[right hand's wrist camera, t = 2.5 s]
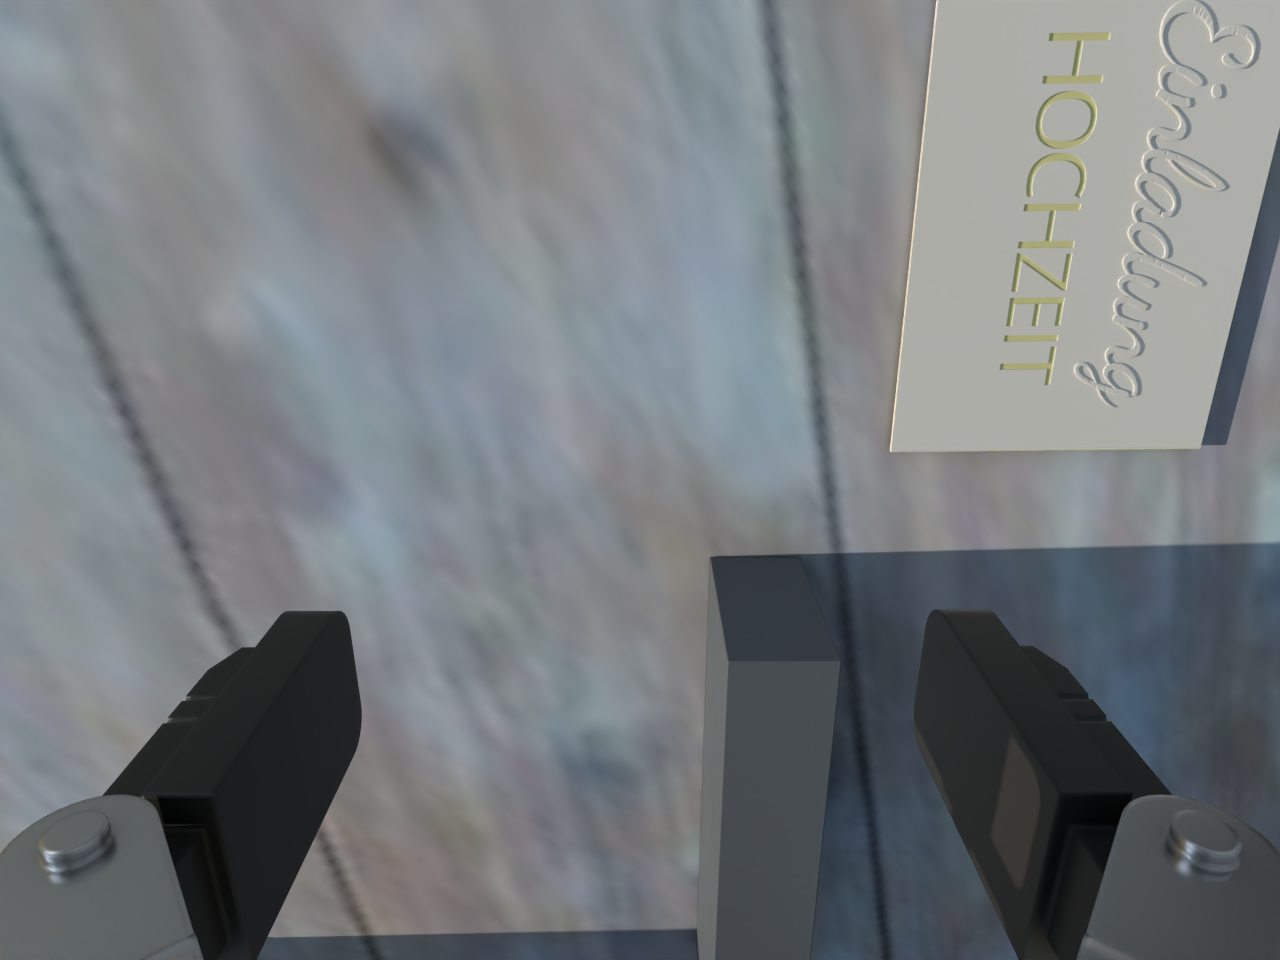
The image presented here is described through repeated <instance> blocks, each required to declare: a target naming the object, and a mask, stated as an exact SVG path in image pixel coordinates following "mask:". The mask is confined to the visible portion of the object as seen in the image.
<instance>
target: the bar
mask: <svg viewBox="0 0 1280 960" xmlns="http://www.w3.org/2000/svg"><path fill="white" fill-rule="evenodd" d="M840 669H841V660H840V657H839V655H838V652H837V650H836V647H835V645H834V642H833V640H832V637H831V635H830V632H829V630H828V627H827V625H826V622H825V619H824V617H823V614H822V612H821V609H820V607H819V604H818V602H817V599H816V597H815V594H814V592H813V589H812V587H811V584H810V581H809V579H808V576H807V574H806V571H805V569H804V566H803V564H802V561H801V559H800V557H710V564H709V593H708V623H707V652H706V682H705V711H704V740H703V770H702V799H701V828H700V858H699V887H698V916H697V960H810V958H811V949H812V939H813V929H814V920H815V910H816V900H817V891H818V881H819V871H820V862H821V852H822V842H823V833H824V823H825V813H826V804H827V794H828V784H829V775H830V765H831V755H832V746H833V736H834V727H835V717H836V707H837V698H838V688H839V678H840Z"/></svg>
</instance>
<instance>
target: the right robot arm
mask: <svg viewBox="0 0 1280 960" xmlns="http://www.w3.org/2000/svg"><path fill="white" fill-rule="evenodd" d="M361 721H362V711H361V701H360V694H359V687H358V680H357V674H356V667H355V660H354V653H353V646H352V639H351V633H350V627H349V622H348V619H347V617H346V615H345V614H344V613H343V612H342V611H286V612H284V613H282V614H281V615H280V616H279V618H278V619H277V620H276V621H275V623H274V624H273V625H272V627H271V628H270V629H269V630H268V632H267V633H266V634H265V636H264V637H263V638H262V639H261V641H260V642H259V643H258V645H257V646H256V647H242V648H241V649H239V650H238V651H236V652H235V653H233V654H232V655H230V656H229V657H227V658H226V659H224V660H223V661H221V662H219V663H218V664H216V665H215V666H213V667H212V668H210V669H209V670H208V671H207V672H206V673H205V674H204V675H203V677H202V678H201V679H200V680H199V681H198V683H197V684H196V685H195V686H194V687H193V689H192V690H191V691H190V692H189V693H188V694H187V696H186V701H182V702H181V703H180V704H179V705H178V706H177V708H176V709H175V710H174V711H173V712H172V714H171V715H170V716H169V717H168V722H167V723H163V724H162V725H161V727H160V728H159V729H158V730H157V731H156V733H155V734H154V735H153V736H152V737H151V739H150V740H149V741H148V742H147V743H146V744H145V746H144V747H143V748H142V749H141V750H140V752H139V753H138V754H137V755H136V756H135V758H134V759H133V760H132V761H131V762H130V764H129V765H128V766H127V767H126V768H125V769H124V771H123V772H122V773H121V774H120V775H119V777H118V778H117V779H116V780H115V781H114V783H113V784H112V785H111V786H110V787H109V789H108V790H107V791H106V792H105V793H104V794H103V796H100V797H95V798H91V799H86V800H83V801H80V802H77V803H74V804H71V805H69V806H66V807H64V808H61V809H59V810H57V811H55V812H53V813H51V814H49V815H47V816H45V817H43V818H42V819H40V820H38V821H37V822H35V823H34V824H32V825H31V826H29V827H28V828H27V829H25V830H24V831H23V832H21V833H20V834H19V835H18V836H17V837H15V838H14V839H13V840H12V841H11V842H10V843H9V844H8V845H7V846H6V848H5V849H4V850H3V851H2V852H1V854H0V960H257V957H258V955H259V953H260V951H261V949H262V947H263V945H264V943H265V941H266V939H267V937H268V934H269V932H270V930H271V928H272V926H273V924H274V922H275V920H276V918H277V916H278V913H279V911H280V909H281V907H282V905H283V903H284V901H285V899H286V897H287V895H288V893H289V890H290V888H291V886H292V884H293V882H294V880H295V878H296V876H297V874H298V872H299V869H300V867H301V865H302V863H303V861H304V859H305V857H306V855H307V853H308V851H309V848H310V846H311V844H312V842H313V840H314V838H315V836H316V834H317V832H318V830H319V828H320V825H321V823H322V821H323V819H324V817H325V815H326V813H327V811H328V809H329V807H330V804H331V802H332V800H333V798H334V796H335V794H336V792H337V790H338V788H339V786H340V784H341V781H342V779H343V777H344V775H345V773H346V771H347V769H348V767H349V765H350V763H351V760H352V758H353V756H354V754H355V752H356V749H357V746H358V742H359V737H360V731H361ZM914 721H915V731H916V736H917V741H918V745H919V748H920V751H921V753H922V755H923V757H924V759H925V762H926V764H927V766H928V768H929V770H930V772H931V774H932V776H933V778H934V781H935V783H936V785H937V787H938V789H939V791H940V793H941V795H942V798H943V800H944V802H945V804H946V806H947V808H948V810H949V812H950V815H951V817H952V819H953V821H954V823H955V825H956V827H957V829H958V832H959V834H960V836H961V838H962V840H963V842H964V844H965V846H966V849H967V851H968V853H969V855H970V857H971V859H972V861H973V863H974V865H975V868H976V870H977V872H978V874H979V876H980V878H981V880H982V882H983V885H984V887H985V889H986V891H987V893H988V895H989V897H990V899H991V902H992V904H993V906H994V908H995V910H996V912H997V914H998V916H999V919H1000V921H1001V923H1002V925H1003V927H1004V929H1005V931H1006V933H1007V936H1008V938H1009V940H1010V942H1011V944H1012V946H1013V948H1014V950H1015V952H1016V955H1017V957H1018V959H1019V960H1280V854H1279V852H1278V851H1277V850H1276V849H1275V848H1274V846H1273V845H1272V844H1271V843H1270V842H1269V841H1268V840H1267V839H1266V838H1265V837H1263V836H1262V835H1261V834H1260V833H1259V832H1257V831H1256V830H1255V829H1253V828H1252V827H1251V826H1249V825H1248V824H1246V823H1245V822H1243V821H1242V820H1240V819H1238V818H1237V817H1235V816H1233V815H1231V814H1229V813H1227V812H1225V811H1223V810H1221V809H1219V808H1216V807H1214V806H1211V805H1209V804H1206V803H1203V802H1200V801H1197V800H1194V799H1189V798H1185V797H1180V796H1173V795H1172V794H1171V793H1170V792H1169V791H1168V789H1167V788H1166V787H1165V786H1164V785H1163V783H1162V782H1161V781H1160V780H1159V779H1158V777H1157V776H1156V775H1155V774H1154V773H1153V771H1152V770H1151V769H1150V768H1149V767H1148V765H1147V764H1146V763H1145V762H1144V761H1143V759H1142V758H1141V757H1140V756H1139V755H1138V753H1137V752H1136V751H1135V750H1134V749H1133V747H1132V746H1131V745H1130V744H1129V743H1128V741H1127V740H1126V739H1125V738H1124V737H1123V735H1122V734H1121V733H1120V732H1119V731H1118V729H1117V728H1116V727H1115V726H1114V725H1113V723H1112V722H1111V721H1107V720H1106V715H1105V714H1104V713H1103V711H1102V710H1101V709H1100V708H1099V707H1098V705H1097V704H1096V703H1095V702H1094V701H1093V699H1089V698H1088V693H1087V692H1086V691H1085V690H1084V689H1083V687H1082V686H1081V685H1080V684H1079V683H1078V681H1077V680H1076V679H1075V678H1074V677H1073V675H1072V674H1071V673H1070V672H1069V671H1068V669H1067V668H1066V667H1064V666H1062V665H1061V664H1059V663H1058V662H1056V661H1055V660H1053V659H1052V658H1050V657H1049V656H1047V655H1046V654H1044V653H1043V652H1041V651H1040V650H1038V649H1036V648H1035V647H1033V646H1019V644H1018V643H1017V642H1016V641H1015V639H1014V638H1013V637H1012V635H1011V634H1010V633H1009V632H1008V630H1007V629H1006V628H1005V626H1004V625H1003V624H1002V623H1001V621H1000V620H999V619H998V617H997V616H996V615H995V614H994V613H993V612H992V611H990V610H933V611H932V612H931V613H930V615H929V617H928V620H927V623H926V629H925V636H924V643H923V649H922V656H921V663H920V670H919V677H918V684H917V691H916V698H915V706H914Z"/></svg>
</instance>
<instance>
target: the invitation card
mask: <svg viewBox="0 0 1280 960" xmlns="http://www.w3.org/2000/svg"><path fill="white" fill-rule="evenodd" d="M1279 128H1280V0H937V1H936V10H935V20H934V30H933V39H932V49H931V59H930V68H929V78H928V88H927V97H926V107H925V117H924V126H923V136H922V145H921V155H920V165H919V174H918V184H917V194H916V203H915V213H914V223H913V232H912V242H911V252H910V261H909V271H908V281H907V290H906V300H905V309H904V319H903V329H902V338H901V348H900V358H899V367H898V377H897V387H896V396H895V406H894V416H893V425H892V435H891V445H890V451H891V452H944V451H1035V450H1127V449H1200V448H1201V444H1202V440H1203V436H1204V432H1205V427H1206V423H1207V419H1208V415H1209V411H1210V407H1211V403H1212V399H1213V395H1214V391H1215V387H1216V383H1217V379H1218V375H1219V371H1220V367H1221V363H1222V359H1223V355H1224V351H1225V347H1226V343H1227V339H1228V335H1229V331H1230V326H1231V322H1232V318H1233V314H1234V310H1235V306H1236V302H1237V298H1238V294H1239V290H1240V286H1241V282H1242V278H1243V274H1244V270H1245V266H1246V262H1247V258H1248V254H1249V250H1250V246H1251V242H1252V238H1253V234H1254V229H1255V225H1256V221H1257V217H1258V213H1259V209H1260V205H1261V201H1262V197H1263V193H1264V189H1265V185H1266V181H1267V177H1268V173H1269V169H1270V165H1271V161H1272V157H1273V153H1274V149H1275V145H1276V141H1277V137H1278V133H1279Z"/></svg>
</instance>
